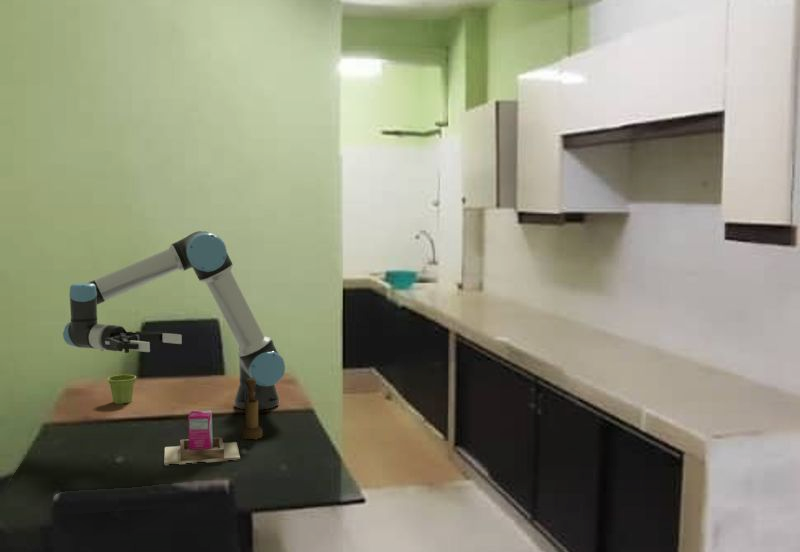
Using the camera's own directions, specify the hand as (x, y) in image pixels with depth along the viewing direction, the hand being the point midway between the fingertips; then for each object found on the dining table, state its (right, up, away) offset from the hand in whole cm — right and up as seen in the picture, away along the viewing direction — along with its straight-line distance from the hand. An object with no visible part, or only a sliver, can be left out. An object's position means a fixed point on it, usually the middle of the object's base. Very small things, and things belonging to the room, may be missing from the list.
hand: (165, 343), depth 237 cm
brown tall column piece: (+23, -29, +11) cm, 39 cm away
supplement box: (+12, -30, -8) cm, 34 cm away
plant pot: (-29, -25, +50) cm, 63 cm away
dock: (+12, -31, -7) cm, 34 cm away
